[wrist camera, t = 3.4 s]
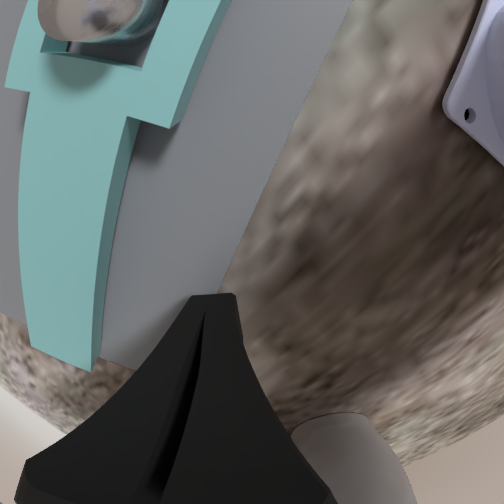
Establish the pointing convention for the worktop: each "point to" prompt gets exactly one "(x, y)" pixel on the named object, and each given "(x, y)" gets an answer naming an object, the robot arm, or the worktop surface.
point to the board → (181, 164)
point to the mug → (353, 460)
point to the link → (89, 162)
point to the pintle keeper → (101, 20)
